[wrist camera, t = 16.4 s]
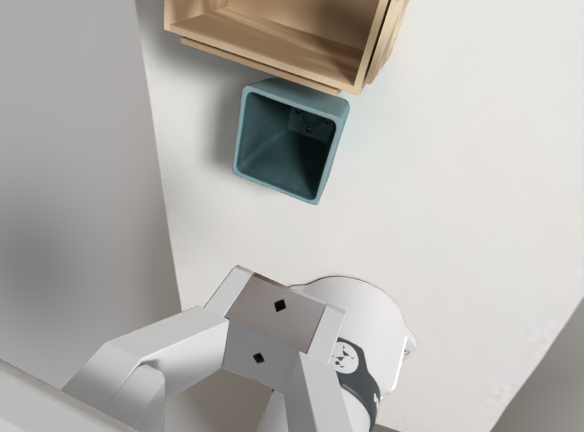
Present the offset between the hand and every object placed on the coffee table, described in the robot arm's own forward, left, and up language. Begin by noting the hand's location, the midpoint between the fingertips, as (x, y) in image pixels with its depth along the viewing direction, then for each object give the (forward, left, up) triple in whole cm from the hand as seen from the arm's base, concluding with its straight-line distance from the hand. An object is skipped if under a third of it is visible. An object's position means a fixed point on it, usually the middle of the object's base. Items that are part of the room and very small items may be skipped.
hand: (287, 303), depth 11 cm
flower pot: (-9, +8, -32) cm, 35 cm away
